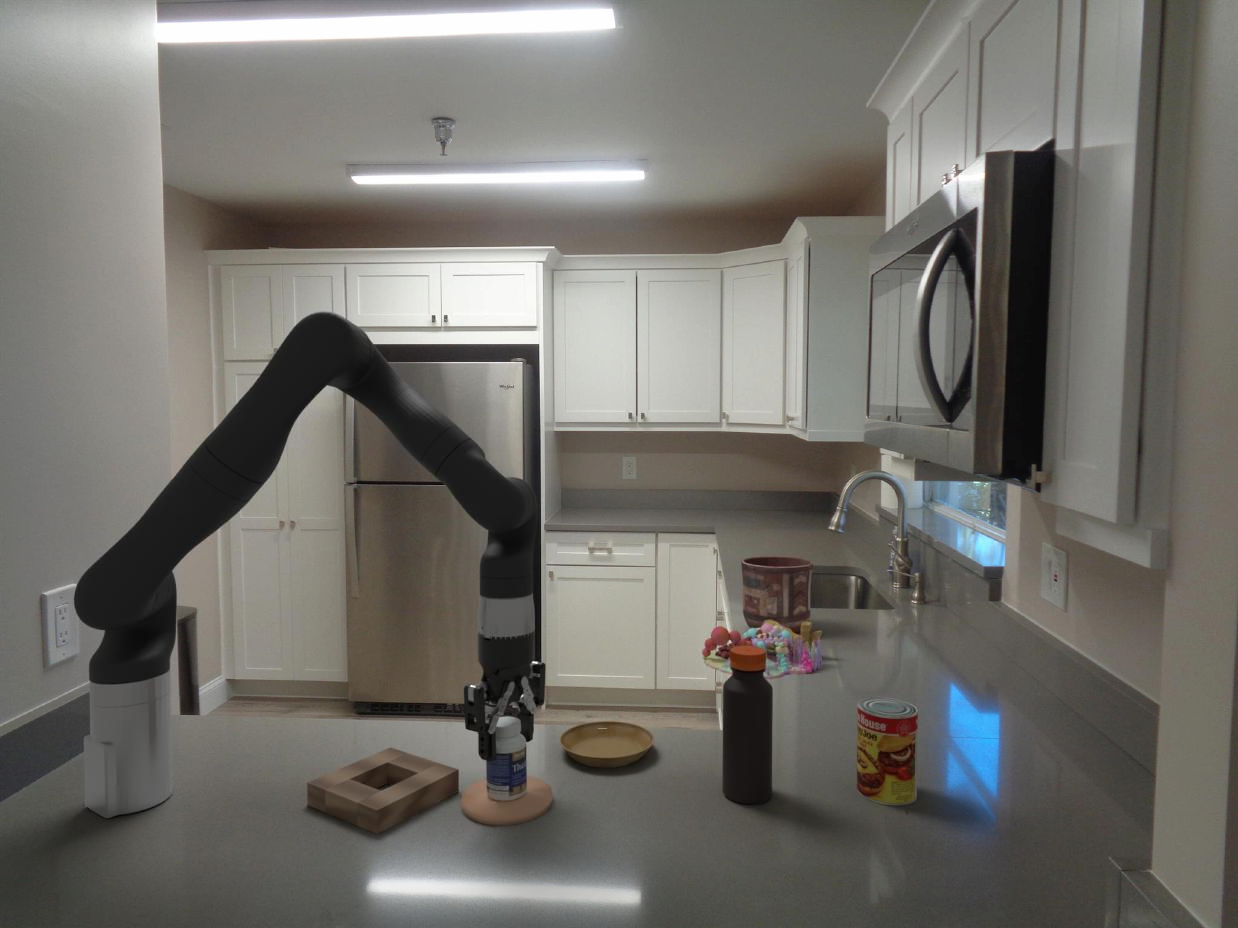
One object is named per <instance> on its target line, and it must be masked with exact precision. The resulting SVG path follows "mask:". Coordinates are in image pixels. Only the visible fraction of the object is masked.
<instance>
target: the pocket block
mask: <svg viewBox="0 0 1238 928" xmlns="http://www.w3.org/2000/svg"><path fill="white" fill-rule="evenodd" d="M459 771H460V770H459V769H458V768H455V767H452V766H449V765H446V764H443V763H440V762H436V761H433V760H430V759H427V758H425V757H420V756H418V755H415V754H412V753H410V752H406V751H402V750H399V749H396V748H395V747H394V748H393V747H388V748H385V749H383V750H381V751H379V752H376V753H374V754H372V755H369V756H366V757H364V758H362V759H360V760H357V761H355V762H353V763H351V764H348V765H346V766H344V767H341V768H338V769H336V770H334V771H331V772H329V773H326V774H325V775H322V776H320V777H318V778H315V779H313V780H310V781H307V782H306V785H307V786H306V789H307V790H306V791H307V806H309V807H312V808H314V809H317V810H318V811H321V812H324V813H326V814H328V815H329V816H330V815H331V816H333V817H335V818H338V819H340V820H343V821H344V822H348V823H349V824H351V825H352V824H353V825H355V826H357V827H359V828H362V829H364V830H367V831H369V832H371V833H373V834H376V835H379V834H380V833H382V832H384V831H386V830H388V829H390V828H392V827H395V826H396V825H398V824H399V823H401V822H403V821H405V820H407V819H409V818H411V817H412V816H414V815H416V814H418V813H420V812H422V811H424V810H425V809H427V808H430V807H431V806H433V805H435V804H436V803H439V802H440V801H442V800H445V799H446V798H448V797H449V796H451V795H453V794H455V793H458V792H459V791H460V782H459V781H460V780H459V778H460V776H459V775H460V774H459V773H460V772H459ZM386 784H389V785H391V786H389V787H386V788H385V789H383V790H380V789H378V788H380V787H382V786H384V785H386Z"/></svg>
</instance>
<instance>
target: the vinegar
mask: <svg viewBox="0 0 1238 928" xmlns="http://www.w3.org/2000/svg"><path fill="white" fill-rule="evenodd" d="M765 668H766V651H765V650H764V649H763V648H760V647H756V646H736V647H733V648H731V649H730V669H731V670H732V675H731V676H730V677H728V678H727V679H726V680H725V682H723V686H722V781H721V782H722V789H721V791H722V793H723V794H724V796H725V797H726V798H728V799H729V800H731V801H733V802H736V803H738V804H745V805H758V804H762V803H766V802H767V801H769V800H770V799H771V797H772V795H773V720H774V719H773V709H774V707H773V702H774V701H773V699H774V698H773V697H774V693H773V691H774V689H773V686H772V684H771V683H770V682H769V681H768V680H767V679H765V678H764V676H763V672H765V671H766V669H765Z"/></svg>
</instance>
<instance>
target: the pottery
mask: <svg viewBox="0 0 1238 928" xmlns="http://www.w3.org/2000/svg"><path fill="white" fill-rule="evenodd" d="M813 568H814V562H813V561H811V560H808V559H805V558H801V557H800V558H799V557H792V556H777V555H774V556H773V555H772V556H770V555H769V556H768V555H767V556H766V555H765V556H753V557H747V558H745V559H742V560H741V574H742V575H741V576H742V591H743V592H742V613H743V617H744V619H743V620H744V621H745V623H746V625H747V627H748V628H749V629H751V628H755V629H756V628H761V627H762V626H763V623H764V622H765V620H773V621H776V622H778V623H779V624H780V625H782V626H784V627H786V628H789V629H791V630H792V631H793V633H795V634H798V635H800V634H801V624H802V623H803V622H810V618H811V585H812V575H813Z"/></svg>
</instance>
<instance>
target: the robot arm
mask: <svg viewBox="0 0 1238 928" xmlns="http://www.w3.org/2000/svg"><path fill="white" fill-rule="evenodd" d="M327 386H328V387H332V388H335V389H337V390H339V391H341V392H343V394H346V395H347V396H349V397H351V398H352V399H354V401H356V402H358V403H360V404H361V405H362V406H364V407H365V408H366V409H368V410H369V411H370V412H371V413H372V414H374V415H375V417H377V418H378V420H380V421H381V422H382V424H384V425H385V426H386V428H387V429H388V430H389V431H390V433H391V434H392V435H393V436H394V437H395V439H396V440H397V441H398V442H399V444H400V445H401V446H402V447H403V448H404V449H405V450H406V451H407V453H409V454H410V455H411V457H413V458H414V459H415V460H416V461H417V462H418V463H419V464H420V465H421V466H422V467H423V468H425V470H427V471H428V472H429V473H430V474H431V475H432V476H434V477H435V479H437V480H438V481H440V483H442V484H443V485H444V486H445V487H447V489H448V490H449V492H450V493H451V495H452V496H453V497H454V499H455V500H456V501H457V502H458V504H459V505H460V506H461V507H462V509H463V510H464V511H465V512H466V513H467V515H468V516H469V517H470V518H471V519H472V520H473V521H474V522H476V523H477V524H478V525H479V526H480V527H482V528H483V529H485V530H487V541H486V548H485V551H484V552H483V553H482V556H481V557H480V562H479V601H478V607H477V661H478V663H479V665H480V666H481V667H482V668H481V669H482V675H481V679H480V682H476V683H475V684H471V683H470V684H469V683H467V684H465V685H464V687H463V703H464V727H465V729H466V730H467V731H471V732H475V733H477V734H478V736H477V739H478V741H477V742H478V743H477V749H478V751H477V753H478V756H479V757H480V759H481V760H483V761H485V762H486V761H489V762H491V761H493V760H495V759H496V732H494V731H495V728H496V725H497V722H498V720H499V717H504V713H505V711H506V708H507V707H508V706H510V705H511V704H512V703H514V704H515V706H516V709H517V710H518V712H517V713H516V715H517V716H516V718H518V719H520V721H521V732H520V734H522V735H523V736H524V737H525V739H526V743H529V742H531V741H532V740H533V739H534V732H535V730H534V729H535V727H534V725H535V721H534V719H535V714H536V712H537V710H538V709H537V708H538V707H539V706H541V707H542V706H543V705H544V704H545V697H546V668H547V667H546V666H547V665H546V663H544V662H541V661H536V660H535V659H536V654H535V653H536V643H535V642H536V641H535V640H536V638H535V637H536V630H535V629H536V626H535V625H536V624H535V622H536V616H535V615H536V614H535V613H536V612H535V604H534V602H535V601H534V595H533V592H534V577H533V575H534V574H533V572H534V571H533V553H534V546H535V543H536V540H535V539H536V533H537V526H538V525H537V523H538V499H537V495H536V493H535V491H534V488H533V487H532V486H531V485H530V484H529V482H527V481H526V480H524V479H523V478H519V477H515V476H509V477H508V476H507V477H505V476H504V475H503V474H502V473H500V471H498V470H497V469H496V468H495V466H493V465H492V463H490V462H489V461H488V460H487V459H486V454H485V451H484V450H483V449H482V448H481V446H480V445H479V444H478V443H477V442H476V441H475V440H474V439H473V438H472V437H470V436H469V435H468V434H467V433H466V432H465V431H464V430H462V429H461V428H460V427H459V426H458V425H457V424H456V423H454V422H453V421H452V420H451V419H450V418H449V417H448V416H446V415H445V414H444V413H443V412H441V410H439V409H438V408H436V407H435V406H434V405H433V404H431V403H430V401H428V400H427V399H426V398H424V397H423V396H422V395H421V394H419V393H418V392H417V391H416V390H415V389H413V387H411V386H410V384H408V382H407V381H405V380H404V379H403V377H402V376H400V375H399V373H398V372H397V371H396V370H395V369H394V368H393V367H392V366H391V364H390V363H389V362H388V361H387V359H386V358H385V357H384V356H383V354H382V353H381V352H380V350H379V349H378V348H377V347H376V346H375V344H374V342H373V341H372V340H371V339H370V337H369V336H368V334H367V332H365V330H363V329H362V328H360V326H358V325H356V324H355V323H353V322H352V321H350V320H349V319H348V318H346V317H344V316H342V315H340V314H339V313H336V312H334V311H328V310H322V311H316V312H313V313H310V314H308V315H307V316H305V317H303V318H302V319H301V320H299V322H297V323H296V324H295V325H294V327H293V328H292V329H291V331H289V333H288V334H287V336H286V337H285V338H284V340H283V341H282V342H281V344H280V346H279V347H278V348H277V350H276V352H275V354H273V356H272V357H271V359H270V360H269V362H268V363H267V365H266V366H265V368H264V369H263V371H262V372H261V373H260V374H259V376H258V378H257V379H256V380H255V382H254V383H253V384H252V385H251V387H250V388H249V389H248V390H247V391H246V393H244V395H243V396H242V397H241V398H240V399H239V400H238V402H237V403H236V404H235V405H234V406H233V407H232V408H231V410H230V411H229V412H228V413H227V415H226V416H225V417H224V418H223V419H222V420H221V422H220V423H219V424H218V425H217V426H216V427H215V428H214V430H212V432H211V433H210V434H209V435H208V436H207V437H206V438H205V439H204V440H203V441H202V442H201V443H200V445H198V447H197V448H196V449H195V450H194V451H193V453H191V455H190V456H189V457H188V459H187V460H186V461H185V463H183V465H182V466H181V468H180V469H179V470H178V472H177V473H176V474H175V475H174V476H173V478H171V480H170V481H169V482H168V483H167V485H166V486H165V487H164V488H163V489H162V491H160V493H159V494H158V495H157V497H156V498H155V499H154V500H153V502H152V503H151V504H150V506H149V507H148V508H147V510H145V512H143V514H142V516H141V517H140V518H139V519H138V521H137V522H136V523H135V524H134V525H133V526H132V527H131V528H130V529H129V530H128V531H127V532H126V533H125V534H124V535H122V537H120V539H118V540H117V541H116V542H115V543H114V544H113V545H112V546H111V547H110V548H109V549H108V550H107V551H105V553H103V555H101V556H100V557H99V558H98V559H97V560H96V561H95V562H93V564H91V566H89V568H88V569H87V570H86V571H85V572H83V574H82V576H81V577H80V578H79V580H78V583H77V584H76V587H75V590H74V593H73V605H74V610H75V613H76V615H77V617H78V618H79V620H80V621H81V623H83V624H84V625H86V626H88V627H89V628H92V629H95V630H99V631H104V633H103V637H102V639H101V642H100V645H99V646H98V648H97V649H96V650H95V652H94V653H93V654H92V656H91V657H90V660H89V662H88V663H89V664H88V680H89V681H88V682H89V683H88V684H89V723H90V724H89V727H90V729H89V732H90V734H87V735H85V736H84V738H83V767H84V798H85V799H84V806H86V807H85V808H87V807H88V808H89V810H90V811H92V812H94V813H95V814H96V815H99V816H101V817H102V818H105V819H110V818H113V817H116V816H119V815H121V816H122V815H127V814H131V813H132V814H133V813H137V812H141V811H144V810H145V811H146V810H148V809H150V808H152V807H155V806H157V805H159V804H161V803H162V802H164V801H166V800H167V799H168V798H170V797H171V795H172V794H173V780H174V778H173V759H172V758H173V756H172V753H173V752H172V751H173V750H172V749H173V748H172V700H171V699H172V697H171V695H172V693H171V690H172V689H171V656H172V652H173V651H174V647H175V644H176V639H177V638H176V637H177V605H178V604H177V603H178V602H177V601H178V600H177V599H178V594H177V593H178V592H177V591H178V590H177V584H176V583H177V582H176V578H175V574H174V572H173V571H174V570H175V568H176V567H177V566H178V564H180V562H181V561H183V559H184V558H186V556H187V555H188V554H189V553H191V552H192V550H194V549H195V548H196V547H197V546H199V545H200V544H202V543H203V541H206V539H207V538H209V537H210V536H211V535H213V534H214V533H215V532H217V531H218V530H219V529H220V528H222V527H223V526H224V525H225V524H226V523H228V522H229V521H230V520H231V519H233V518H234V517H235V516H236V515H237V514H238V513H239V512H241V511H242V510H243V508H244V507H245V506H247V505H248V503H249V502H251V500H252V499H253V498H254V496H255V495H256V494H257V493H258V492H259V490H260V489H261V488H262V487H263V486H264V485H265V484H266V482H267V481H268V480H269V479H270V478H271V476H272V475H273V473H274V472H275V471H276V468H277V466H278V464H279V463H280V461H281V458H282V456H283V454H284V450H285V448H286V444H287V442H288V439H289V437H290V433H291V431H292V429H293V427H294V425H295V423H296V421H297V419H298V418H300V415H301V414H302V413H303V411H304V410H305V409H306V408H307V407H308V406H309V404H311V403H312V401H313V400H314V399H315V398H316V397H317V396H318V394H320V393H321V392H322V391H323V390H324V389H325V388H326V387H327ZM535 689H536V694H535ZM490 703H491V704H492V705H494V706H495V707H493V706H490ZM488 715H490V717H489V720H488V722H487V719H488ZM88 808H87V809H88Z"/></svg>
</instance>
